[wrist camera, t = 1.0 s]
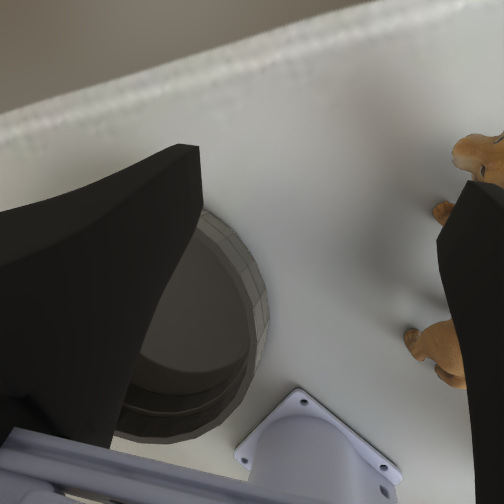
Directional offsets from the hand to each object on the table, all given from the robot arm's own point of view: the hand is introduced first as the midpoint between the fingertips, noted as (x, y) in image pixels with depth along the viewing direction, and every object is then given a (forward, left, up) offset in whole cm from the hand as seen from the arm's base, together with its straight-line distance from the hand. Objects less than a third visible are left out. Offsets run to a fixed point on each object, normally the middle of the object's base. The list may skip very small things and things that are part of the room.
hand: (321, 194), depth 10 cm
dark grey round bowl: (+4, +14, -12) cm, 19 cm away
